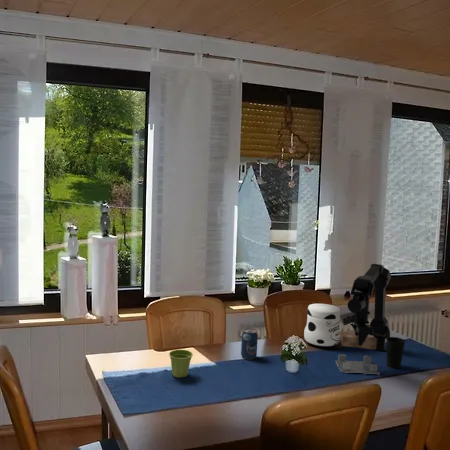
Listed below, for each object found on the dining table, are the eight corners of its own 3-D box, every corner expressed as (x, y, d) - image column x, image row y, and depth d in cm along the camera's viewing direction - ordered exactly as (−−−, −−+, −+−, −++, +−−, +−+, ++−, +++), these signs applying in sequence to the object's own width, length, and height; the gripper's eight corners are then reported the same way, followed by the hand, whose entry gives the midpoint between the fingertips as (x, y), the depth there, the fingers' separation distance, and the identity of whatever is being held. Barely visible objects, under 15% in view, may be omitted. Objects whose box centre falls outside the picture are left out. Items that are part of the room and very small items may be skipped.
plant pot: (195, 372, 205) (196, 351, 204) (186, 381, 196) (187, 359, 195) (174, 368, 208) (175, 348, 207) (164, 377, 199) (164, 355, 198)
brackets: (335, 362, 224) (336, 353, 223) (371, 364, 223) (372, 355, 223) (341, 373, 212) (342, 363, 211) (379, 375, 212) (380, 365, 211)
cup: (403, 370, 218) (406, 343, 216) (385, 368, 219) (387, 341, 218) (401, 364, 225) (403, 337, 224) (383, 362, 227) (385, 336, 225)
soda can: (248, 361, 220) (249, 334, 218) (237, 356, 225) (238, 329, 224) (259, 358, 224) (261, 331, 223) (248, 353, 230) (250, 327, 228)
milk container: (343, 351, 239) (346, 313, 237) (306, 349, 239) (308, 311, 237) (335, 338, 256) (338, 303, 254) (301, 337, 256) (303, 302, 254)
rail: (341, 345, 216) (342, 336, 216) (341, 343, 220) (342, 334, 219) (375, 349, 213) (376, 340, 213) (375, 346, 217) (376, 337, 216)
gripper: (337, 301, 224) (335, 335, 226) (347, 313, 205) (344, 350, 207) (363, 302, 224) (360, 336, 226) (375, 314, 205) (372, 351, 207)
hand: (358, 343), depth 216 cm, fingers closed on rail, 4 cm apart
